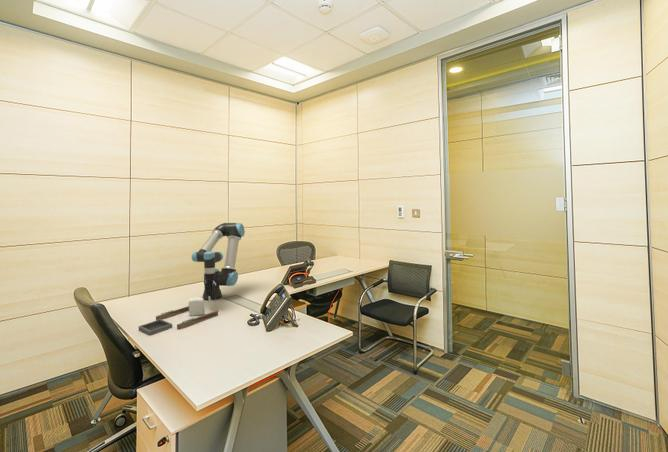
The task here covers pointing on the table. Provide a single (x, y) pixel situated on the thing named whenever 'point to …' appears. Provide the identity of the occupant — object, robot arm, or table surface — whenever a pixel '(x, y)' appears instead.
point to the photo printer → (196, 306)
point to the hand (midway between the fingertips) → (211, 304)
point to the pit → (155, 327)
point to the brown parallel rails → (189, 321)
